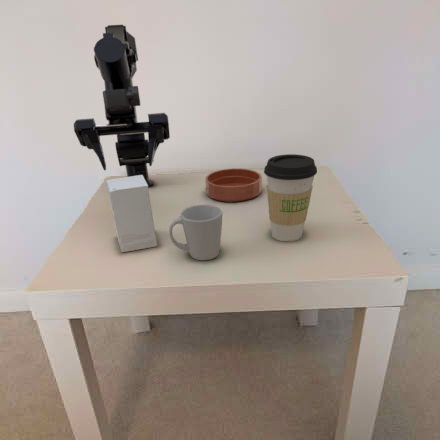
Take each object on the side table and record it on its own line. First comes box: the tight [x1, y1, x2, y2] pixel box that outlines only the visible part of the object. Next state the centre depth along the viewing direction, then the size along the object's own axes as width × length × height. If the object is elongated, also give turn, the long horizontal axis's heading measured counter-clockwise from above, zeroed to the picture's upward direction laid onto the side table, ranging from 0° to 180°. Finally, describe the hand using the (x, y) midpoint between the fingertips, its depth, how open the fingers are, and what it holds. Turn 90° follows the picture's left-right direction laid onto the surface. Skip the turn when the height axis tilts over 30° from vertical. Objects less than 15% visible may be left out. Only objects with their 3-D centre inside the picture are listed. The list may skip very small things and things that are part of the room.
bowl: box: [204, 167, 263, 203], centre depth 102 cm, size 14×14×4 cm
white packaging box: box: [106, 175, 158, 253], centre depth 78 cm, size 7×7×13 cm
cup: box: [168, 204, 223, 261], centre depth 74 cm, size 8×10×8 cm
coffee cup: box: [263, 153, 318, 242], centre depth 78 cm, size 10×10×15 cm
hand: (127, 167), depth 81 cm, fingers open, 9 cm apart
